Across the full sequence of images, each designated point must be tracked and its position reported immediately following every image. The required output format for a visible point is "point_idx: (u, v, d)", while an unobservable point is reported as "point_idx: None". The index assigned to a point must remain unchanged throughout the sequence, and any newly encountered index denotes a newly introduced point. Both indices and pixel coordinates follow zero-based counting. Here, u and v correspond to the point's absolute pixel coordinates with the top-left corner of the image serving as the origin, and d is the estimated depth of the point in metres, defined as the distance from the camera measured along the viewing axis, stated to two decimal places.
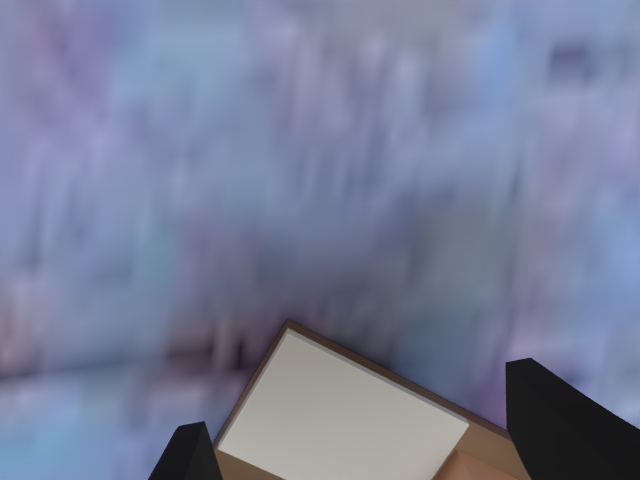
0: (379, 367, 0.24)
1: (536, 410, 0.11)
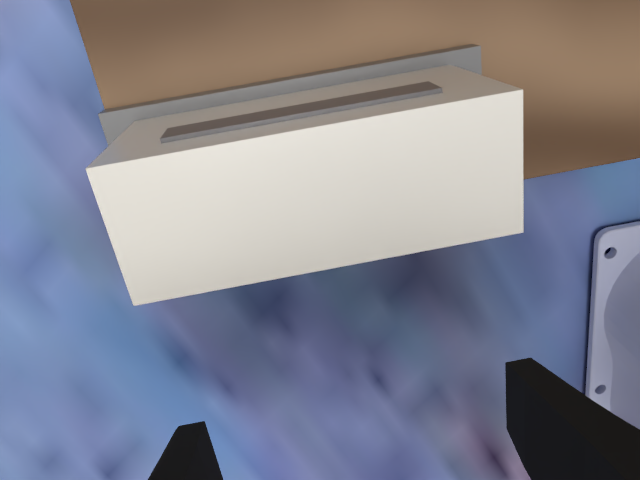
0: None
1: (536, 410, 0.11)
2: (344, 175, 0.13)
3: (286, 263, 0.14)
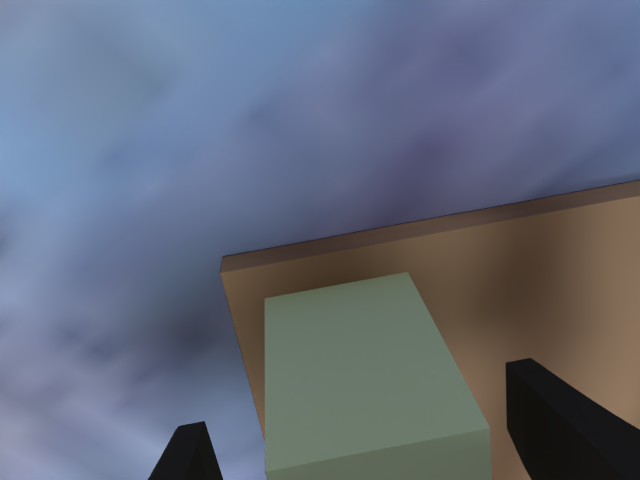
0: None
1: (536, 410, 0.11)
2: None
3: None
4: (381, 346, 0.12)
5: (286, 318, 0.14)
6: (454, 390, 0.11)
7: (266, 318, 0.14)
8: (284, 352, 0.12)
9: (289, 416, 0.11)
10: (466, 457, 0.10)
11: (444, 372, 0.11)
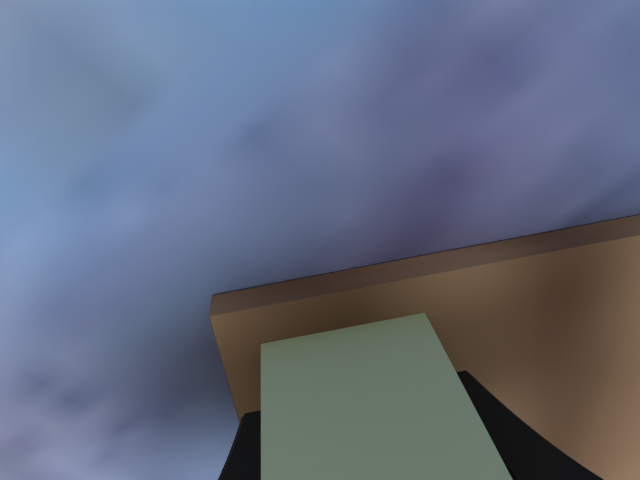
0: None
1: None
2: None
3: None
4: (400, 412, 0.10)
5: (286, 370, 0.12)
6: (492, 478, 0.09)
7: (262, 370, 0.12)
8: (284, 418, 0.11)
9: None
10: None
11: (478, 451, 0.09)
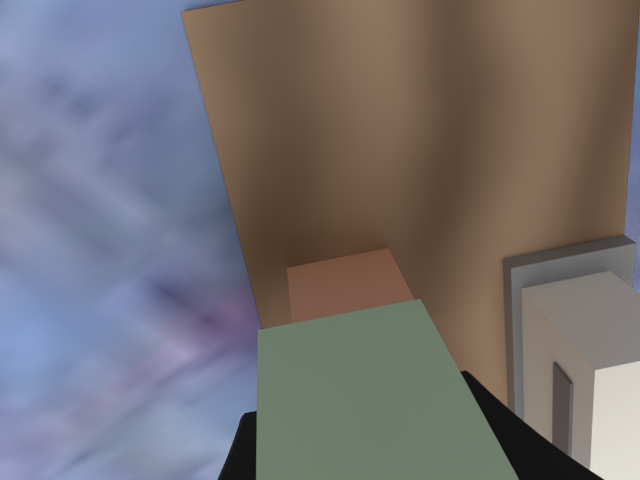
0: None
1: None
2: (625, 463, 0.19)
3: None
4: (394, 392, 0.10)
5: (282, 355, 0.12)
6: (485, 452, 0.09)
7: (259, 355, 0.12)
8: (280, 399, 0.11)
9: None
10: None
11: (471, 428, 0.09)
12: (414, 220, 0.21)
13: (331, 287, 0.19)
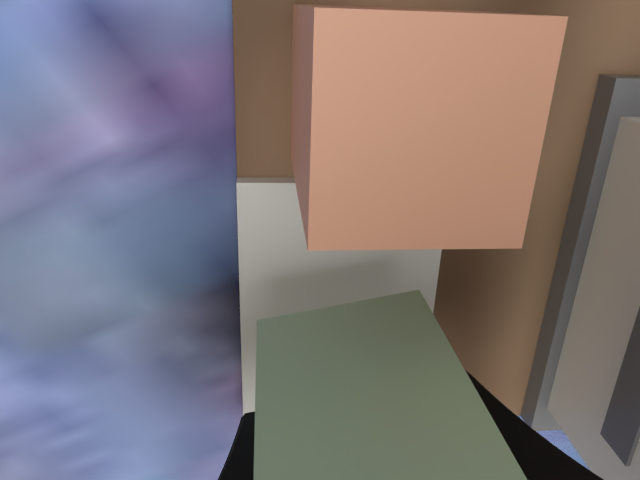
0: None
1: None
2: None
3: None
4: (392, 379, 0.10)
5: (281, 343, 0.12)
6: (482, 435, 0.09)
7: (258, 343, 0.12)
8: (278, 385, 0.11)
9: (282, 466, 0.09)
10: None
11: (469, 412, 0.09)
12: None
13: (367, 7, 0.12)
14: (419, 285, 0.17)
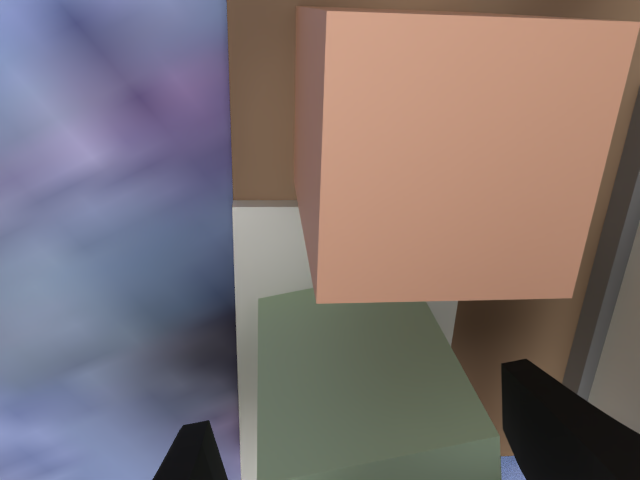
0: None
1: (531, 411, 0.11)
2: None
3: None
4: (381, 348, 0.11)
5: (281, 319, 0.13)
6: (460, 395, 0.10)
7: (260, 319, 0.13)
8: (278, 356, 0.12)
9: (283, 424, 0.10)
10: (473, 467, 0.09)
11: (449, 375, 0.10)
12: None
13: None
14: (436, 318, 0.15)
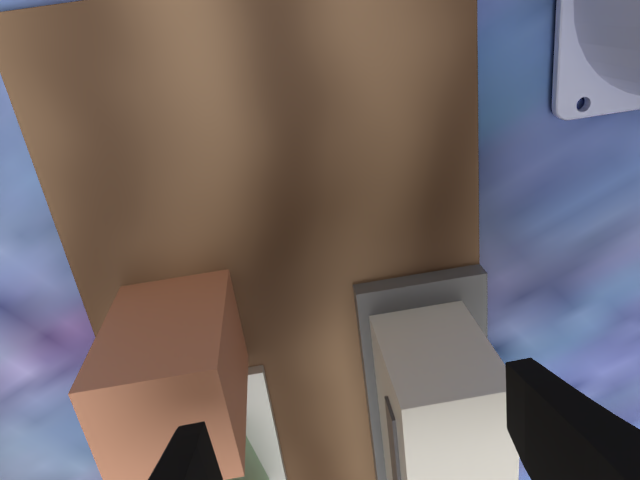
0: None
1: (536, 410, 0.11)
2: None
3: None
4: None
5: None
6: None
7: None
8: None
9: None
10: None
11: None
12: (254, 242, 0.20)
13: (150, 310, 0.18)
14: (263, 437, 0.23)
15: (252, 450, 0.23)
